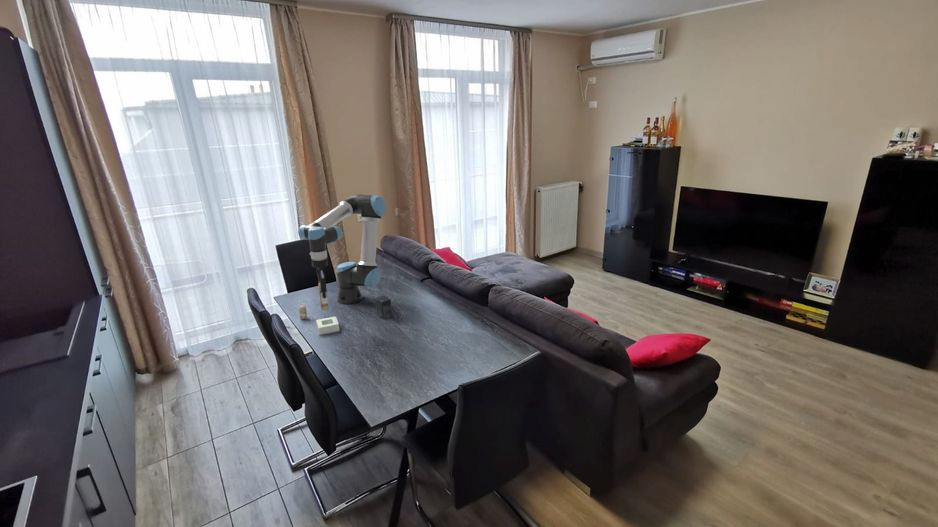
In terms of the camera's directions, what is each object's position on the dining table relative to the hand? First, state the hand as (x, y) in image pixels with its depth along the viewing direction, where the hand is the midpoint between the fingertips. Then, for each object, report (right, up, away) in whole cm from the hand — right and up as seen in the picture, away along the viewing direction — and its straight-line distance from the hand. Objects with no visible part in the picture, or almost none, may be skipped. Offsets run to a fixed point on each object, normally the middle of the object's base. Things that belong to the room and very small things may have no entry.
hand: (324, 301), depth 211 cm
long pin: (0, -4, +1) cm, 4 cm away
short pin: (-18, -11, +17) cm, 27 cm away
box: (+27, -10, +21) cm, 35 cm away
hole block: (0, -15, +5) cm, 16 cm away
